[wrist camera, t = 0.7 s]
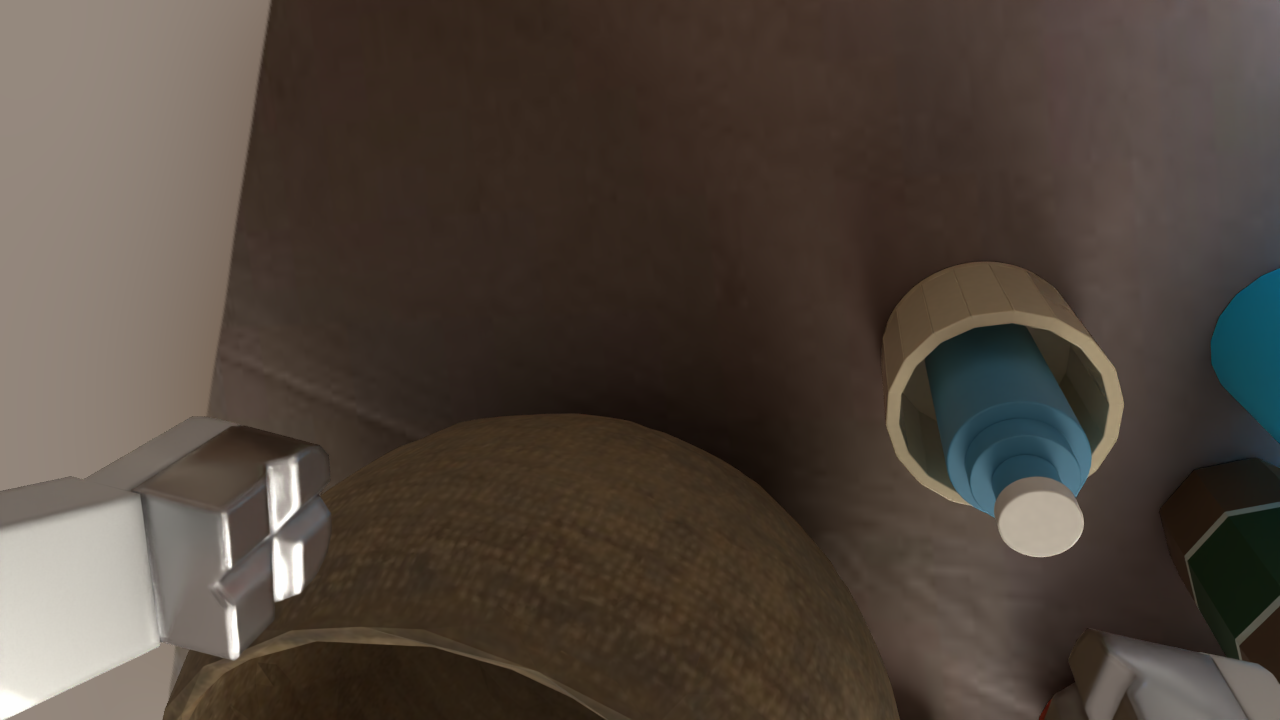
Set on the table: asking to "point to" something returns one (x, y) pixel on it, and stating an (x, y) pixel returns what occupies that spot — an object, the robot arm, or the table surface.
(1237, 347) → the mug
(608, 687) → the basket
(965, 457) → the bottle
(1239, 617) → the beer bottle
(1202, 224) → the table surface
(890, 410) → the bucket
